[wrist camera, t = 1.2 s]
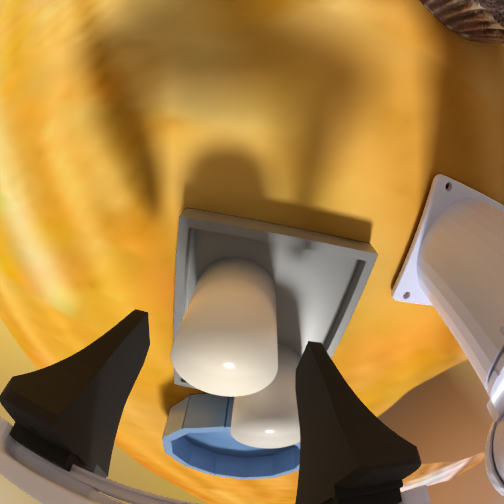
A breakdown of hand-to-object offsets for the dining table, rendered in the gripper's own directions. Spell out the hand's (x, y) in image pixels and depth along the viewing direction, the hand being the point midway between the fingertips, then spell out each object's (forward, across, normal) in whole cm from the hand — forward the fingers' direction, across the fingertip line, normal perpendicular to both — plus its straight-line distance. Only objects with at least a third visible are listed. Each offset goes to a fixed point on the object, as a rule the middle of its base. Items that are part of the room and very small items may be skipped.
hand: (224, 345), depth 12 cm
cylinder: (+4, -3, +6) cm, 8 cm away
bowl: (+5, -3, +17) cm, 18 cm away
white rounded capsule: (+4, 0, 0) cm, 4 cm away
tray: (+5, -2, +2) cm, 6 cm away
